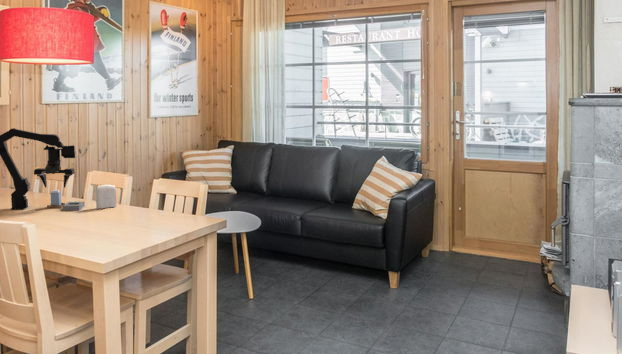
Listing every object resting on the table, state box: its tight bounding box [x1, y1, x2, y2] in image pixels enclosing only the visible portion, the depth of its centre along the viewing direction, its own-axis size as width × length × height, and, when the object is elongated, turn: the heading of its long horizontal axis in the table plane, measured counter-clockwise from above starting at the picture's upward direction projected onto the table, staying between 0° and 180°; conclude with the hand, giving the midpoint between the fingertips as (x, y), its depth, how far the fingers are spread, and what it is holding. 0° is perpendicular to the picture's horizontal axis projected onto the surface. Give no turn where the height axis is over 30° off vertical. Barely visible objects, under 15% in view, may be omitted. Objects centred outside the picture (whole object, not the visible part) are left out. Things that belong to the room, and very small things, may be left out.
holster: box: [46, 202, 66, 209], centre depth 276 cm, size 9×15×2 cm, turn 11°
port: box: [62, 200, 85, 212], centre depth 269 cm, size 8×12×3 cm, turn 11°
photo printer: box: [95, 184, 117, 210], centre depth 272 cm, size 10×4×12 cm, turn 134°
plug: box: [50, 189, 62, 205], centre depth 271 cm, size 4×4×9 cm
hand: (55, 187), depth 270 cm, fingers open, 9 cm apart
